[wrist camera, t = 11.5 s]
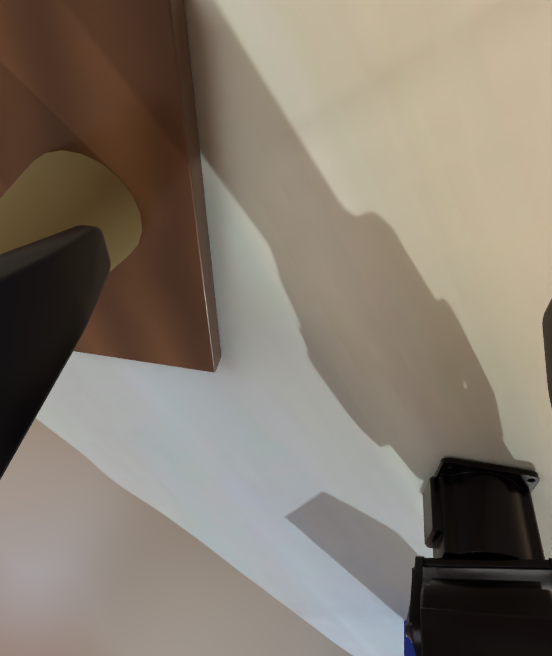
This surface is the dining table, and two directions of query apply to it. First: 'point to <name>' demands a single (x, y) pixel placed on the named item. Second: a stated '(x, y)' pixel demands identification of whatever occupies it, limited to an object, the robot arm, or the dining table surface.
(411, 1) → the dining table surface
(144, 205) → the serving board
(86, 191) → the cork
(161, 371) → the dining table surface
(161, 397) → the dining table surface
